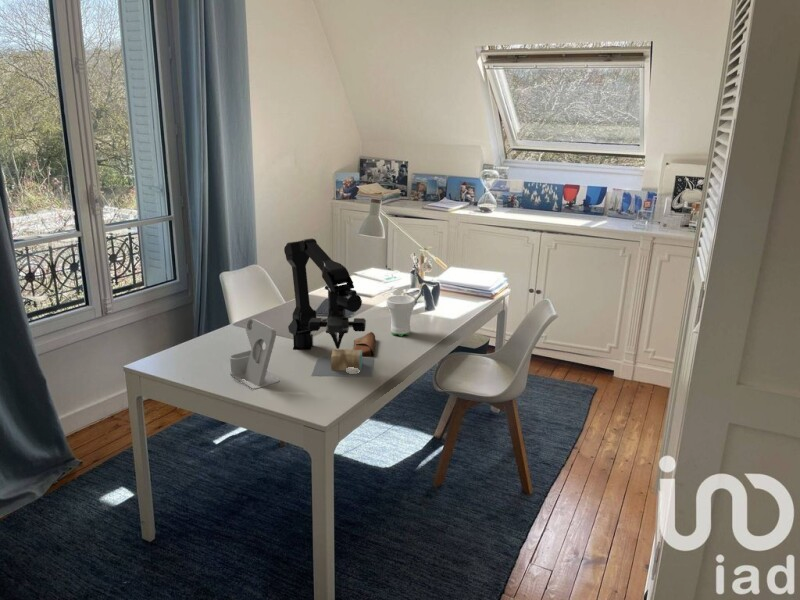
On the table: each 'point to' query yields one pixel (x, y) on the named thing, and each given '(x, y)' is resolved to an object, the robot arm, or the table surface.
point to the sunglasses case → (366, 344)
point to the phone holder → (255, 356)
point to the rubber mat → (324, 369)
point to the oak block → (346, 359)
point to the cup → (400, 313)
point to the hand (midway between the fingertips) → (337, 348)
